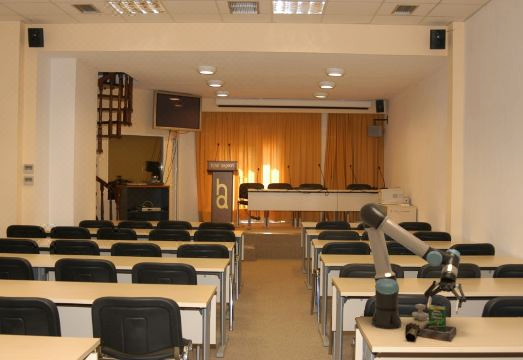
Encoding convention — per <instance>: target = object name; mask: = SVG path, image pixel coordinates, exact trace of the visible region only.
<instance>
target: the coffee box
mask: <svg viewBox="0 0 523 360" xmlns="http://www.w3.org/2000/svg"><path fill="white" fill-rule="evenodd" d="M428 314H429V317H428V323H429V330H433V331H440V332H446V326H447V307H446V306H443V305H441V306H440V305H434V304H433V305H432V304H431V305H429V310H428Z"/></svg>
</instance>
